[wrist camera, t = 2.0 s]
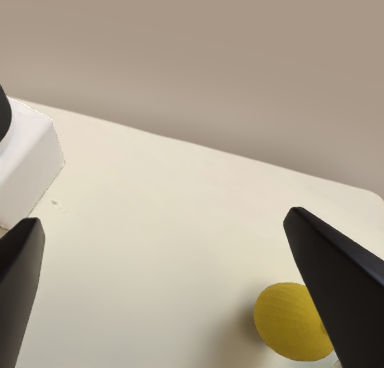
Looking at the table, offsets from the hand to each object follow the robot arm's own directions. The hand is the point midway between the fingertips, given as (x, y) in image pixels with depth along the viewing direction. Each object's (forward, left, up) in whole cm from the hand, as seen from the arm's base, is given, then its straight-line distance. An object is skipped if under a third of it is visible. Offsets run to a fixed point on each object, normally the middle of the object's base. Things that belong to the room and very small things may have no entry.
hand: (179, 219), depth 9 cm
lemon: (+3, -13, -15) cm, 20 cm away
